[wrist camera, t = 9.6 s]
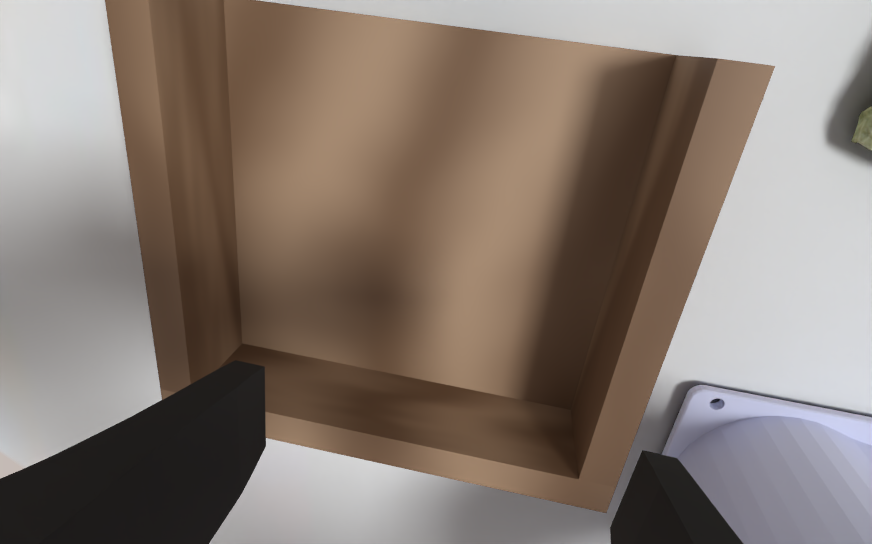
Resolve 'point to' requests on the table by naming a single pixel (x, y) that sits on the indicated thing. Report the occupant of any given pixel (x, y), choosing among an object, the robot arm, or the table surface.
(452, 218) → the walnut crate
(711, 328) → the table surface
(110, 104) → the table surface
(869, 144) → the washcloth
